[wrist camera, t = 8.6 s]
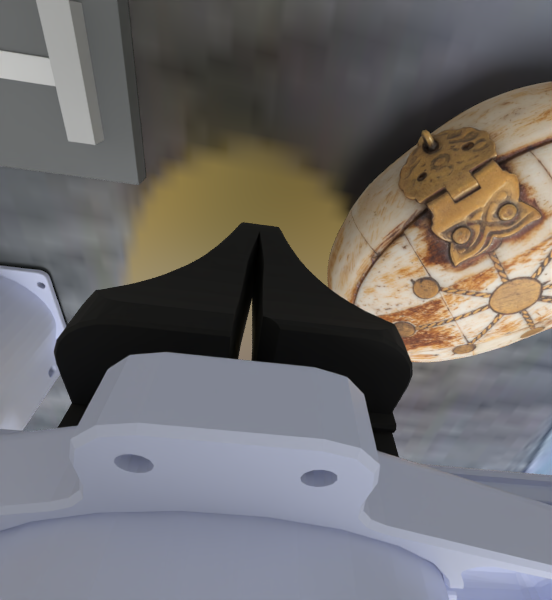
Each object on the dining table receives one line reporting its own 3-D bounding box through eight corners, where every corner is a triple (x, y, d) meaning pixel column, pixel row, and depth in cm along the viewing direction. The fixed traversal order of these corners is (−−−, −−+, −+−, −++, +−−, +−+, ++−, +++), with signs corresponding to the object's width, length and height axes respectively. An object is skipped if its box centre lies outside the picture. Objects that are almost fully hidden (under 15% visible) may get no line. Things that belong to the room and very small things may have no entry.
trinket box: (659, 114, 16) (892, 159, 10) (468, 329, 25) (529, 424, 19) (417, 12, 14) (525, -12, 8) (300, 286, 23) (308, 378, 17)
